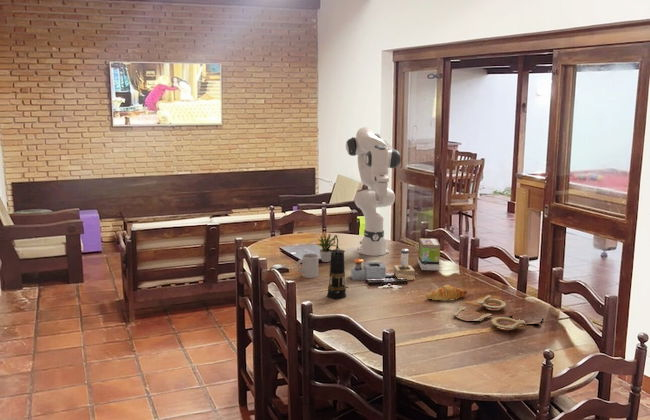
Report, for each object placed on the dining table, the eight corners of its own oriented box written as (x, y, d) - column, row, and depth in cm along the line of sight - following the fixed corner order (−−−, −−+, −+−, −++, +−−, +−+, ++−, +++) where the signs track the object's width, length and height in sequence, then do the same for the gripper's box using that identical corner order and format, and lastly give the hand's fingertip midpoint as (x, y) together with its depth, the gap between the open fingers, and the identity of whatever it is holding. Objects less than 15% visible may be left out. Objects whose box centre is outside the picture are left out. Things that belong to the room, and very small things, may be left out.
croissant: (428, 309, 288) (432, 297, 283) (420, 293, 295) (424, 281, 290) (468, 304, 293) (473, 292, 288) (459, 288, 301) (464, 277, 296)
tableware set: (445, 316, 270) (445, 307, 269) (480, 300, 290) (481, 292, 289) (518, 340, 246) (519, 330, 245) (551, 321, 266) (552, 312, 265)
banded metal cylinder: (399, 273, 326) (400, 248, 323) (406, 273, 326) (407, 248, 323) (400, 276, 322) (402, 250, 319) (408, 276, 322) (409, 250, 319)
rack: (393, 274, 328) (393, 265, 327) (410, 273, 329) (410, 265, 328) (397, 280, 319) (397, 270, 318) (414, 279, 320) (414, 270, 318)
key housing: (350, 276, 325) (350, 267, 324) (363, 275, 325) (363, 266, 324) (352, 280, 318) (352, 270, 317) (365, 279, 319) (366, 270, 318)
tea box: (439, 270, 336) (440, 244, 333) (421, 270, 336) (422, 244, 333) (435, 262, 350) (436, 237, 348) (417, 262, 351) (418, 237, 348)
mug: (314, 272, 330) (314, 252, 328) (321, 276, 323) (321, 256, 321) (293, 275, 325) (293, 255, 323) (300, 279, 318) (300, 259, 316)
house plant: (338, 265, 344) (339, 236, 341) (314, 264, 345) (314, 236, 341) (338, 258, 358) (339, 230, 355) (315, 257, 359) (315, 230, 355)
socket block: (363, 274, 327) (363, 262, 325) (381, 274, 328) (382, 262, 326) (366, 280, 317) (366, 267, 316) (385, 280, 318) (385, 267, 317)
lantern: (349, 294, 296) (350, 234, 290) (340, 300, 288) (341, 238, 282) (333, 291, 300) (333, 232, 294) (323, 297, 292) (324, 236, 286)
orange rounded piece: (352, 274, 324) (353, 258, 322) (362, 274, 324) (362, 258, 322) (354, 277, 319) (354, 261, 317) (363, 277, 319) (364, 261, 317)
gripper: (370, 173, 330) (369, 198, 332) (377, 179, 310) (376, 206, 313) (382, 173, 330) (381, 198, 333) (389, 179, 310) (388, 205, 313)
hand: (379, 202), depth 323 cm, fingers open, 8 cm apart
